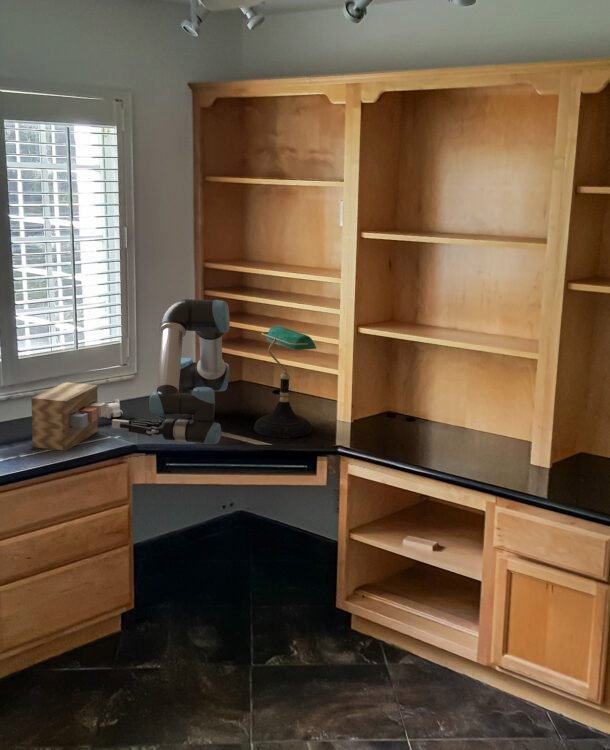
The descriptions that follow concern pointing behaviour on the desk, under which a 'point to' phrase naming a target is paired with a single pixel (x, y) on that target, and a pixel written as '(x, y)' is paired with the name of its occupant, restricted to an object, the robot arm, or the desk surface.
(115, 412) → the elephant figurine
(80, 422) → the slate key
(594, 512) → the desk surface
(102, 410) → the white key
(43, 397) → the wooden box
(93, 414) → the brick key
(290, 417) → the banker's lamp
